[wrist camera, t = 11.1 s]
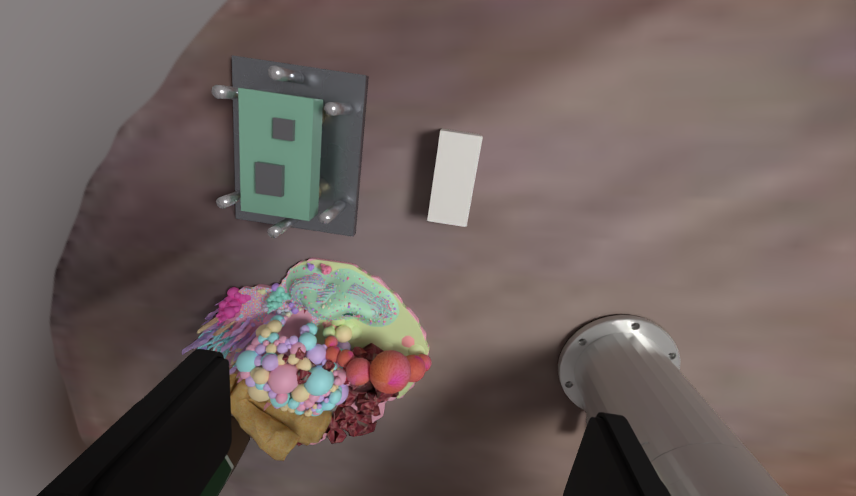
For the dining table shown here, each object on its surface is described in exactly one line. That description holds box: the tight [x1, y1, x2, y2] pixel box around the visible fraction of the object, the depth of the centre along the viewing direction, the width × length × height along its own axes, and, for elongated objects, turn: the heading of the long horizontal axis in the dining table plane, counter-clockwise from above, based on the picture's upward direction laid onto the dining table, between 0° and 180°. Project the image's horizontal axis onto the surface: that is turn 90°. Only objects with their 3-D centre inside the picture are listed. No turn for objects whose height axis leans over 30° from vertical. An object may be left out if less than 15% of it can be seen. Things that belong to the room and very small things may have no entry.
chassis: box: [212, 56, 368, 238], centre depth 35 cm, size 15×12×6 cm
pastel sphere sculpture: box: [182, 258, 431, 461], centre depth 42 cm, size 25×24×9 cm
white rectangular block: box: [427, 129, 483, 227], centre depth 36 cm, size 8×4×4 cm, turn 172°
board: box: [238, 88, 323, 221], centre depth 33 cm, size 10×6×3 cm, turn 172°
